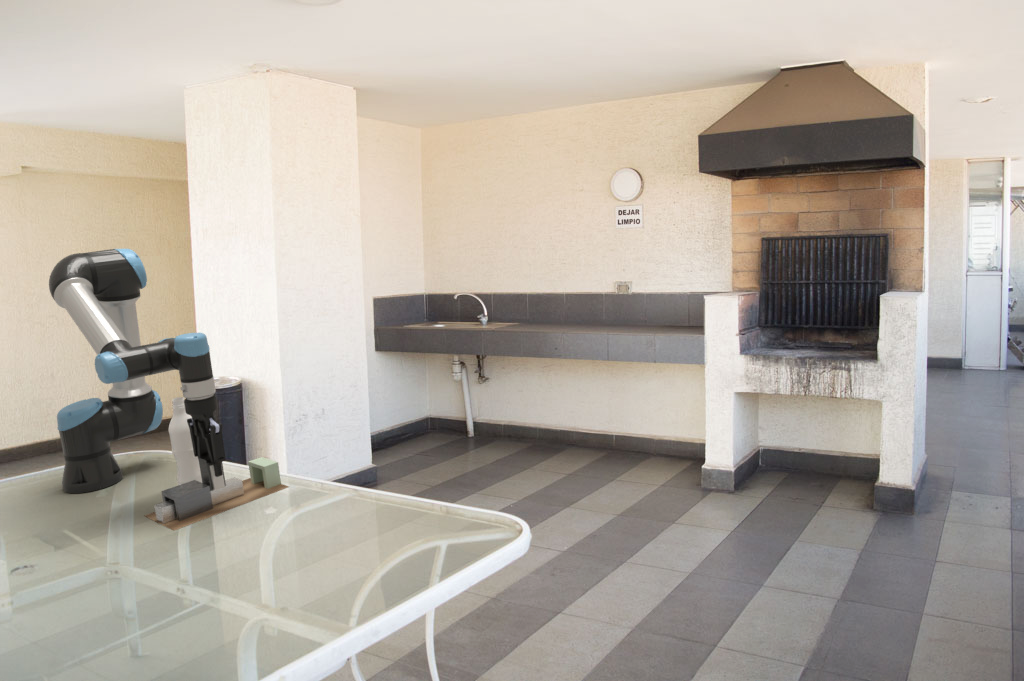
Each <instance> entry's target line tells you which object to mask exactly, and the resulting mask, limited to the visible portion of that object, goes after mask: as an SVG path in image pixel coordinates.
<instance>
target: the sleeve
mask: <svg viewBox="0 0 1024 681" xmlns="http://www.w3.org/2000/svg"><path fill="white" fill-rule="evenodd" d="M161 497H162V502H165V501H168V500H170V499H172V500H174V502H175V508H176V514H177V519H178V520H179V521H182V520H184V519H187V518H190V517H192V516H195V515H198V514H200V513H203V512H206V511H209V510H211V509H213V504H212V498H211V492H210V486H209V485H206V484H204V483H201V482H199V481H196V480H193V481H190V482H187V483H184V484H181V485H178V484H177V485H176V486H173V487H170V488H166V489H164V490H162V491H161Z"/></svg>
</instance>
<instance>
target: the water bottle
mask: <svg viewBox="0 0 1024 681" xmlns="http://www.w3.org/2000/svg"><path fill="white" fill-rule="evenodd" d="M184 400H185V397H183V396H182V397H181V396H178V397H175V398H172V399H171V402H172V407H171V409H172V410H173V413H172V417H171V420H170V422H169V425H168V434H169V439H170V440H169V441H170V444H171V454H172V456H173V457H174V459H175V462H176V467H177V476H176V482H177V486H178V485H181V484H184V483H187V482H190V481H193V480H196V481H199V482H201V483H202V478H201V472H200V466H199V460H198V456H197V457H195V456H194V451H193V446H192V440H191V435H190V429H189V426H188V423H187V419H190V418H192V415H188V414H187V413H186V411H185V405H184Z"/></svg>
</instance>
